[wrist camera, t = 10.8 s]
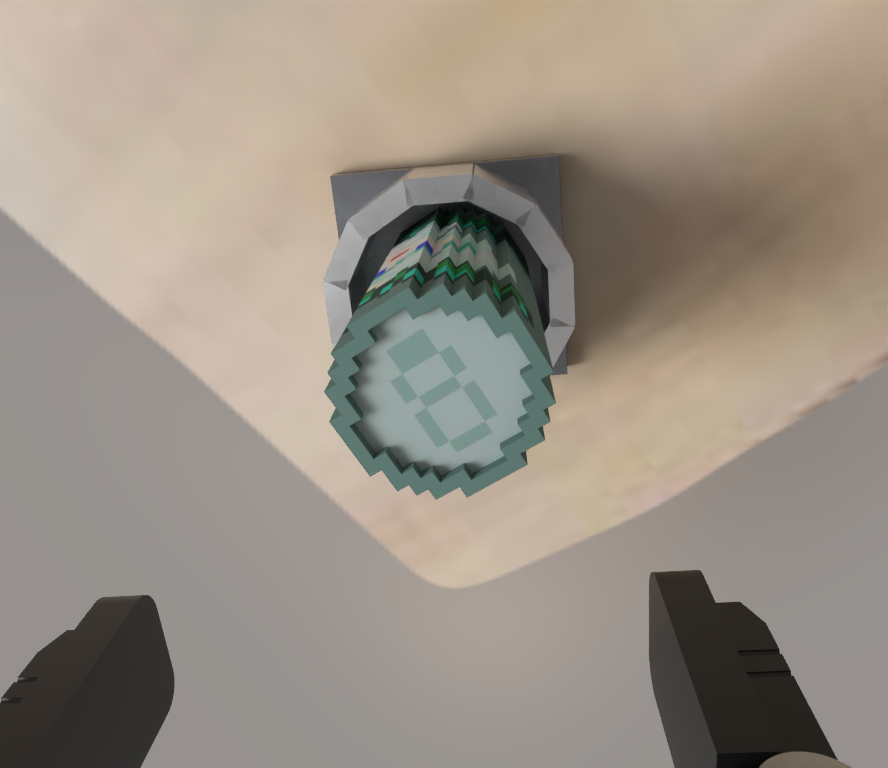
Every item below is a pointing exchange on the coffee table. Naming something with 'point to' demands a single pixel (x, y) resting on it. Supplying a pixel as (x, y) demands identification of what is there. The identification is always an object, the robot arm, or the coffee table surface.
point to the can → (444, 360)
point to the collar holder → (446, 187)
